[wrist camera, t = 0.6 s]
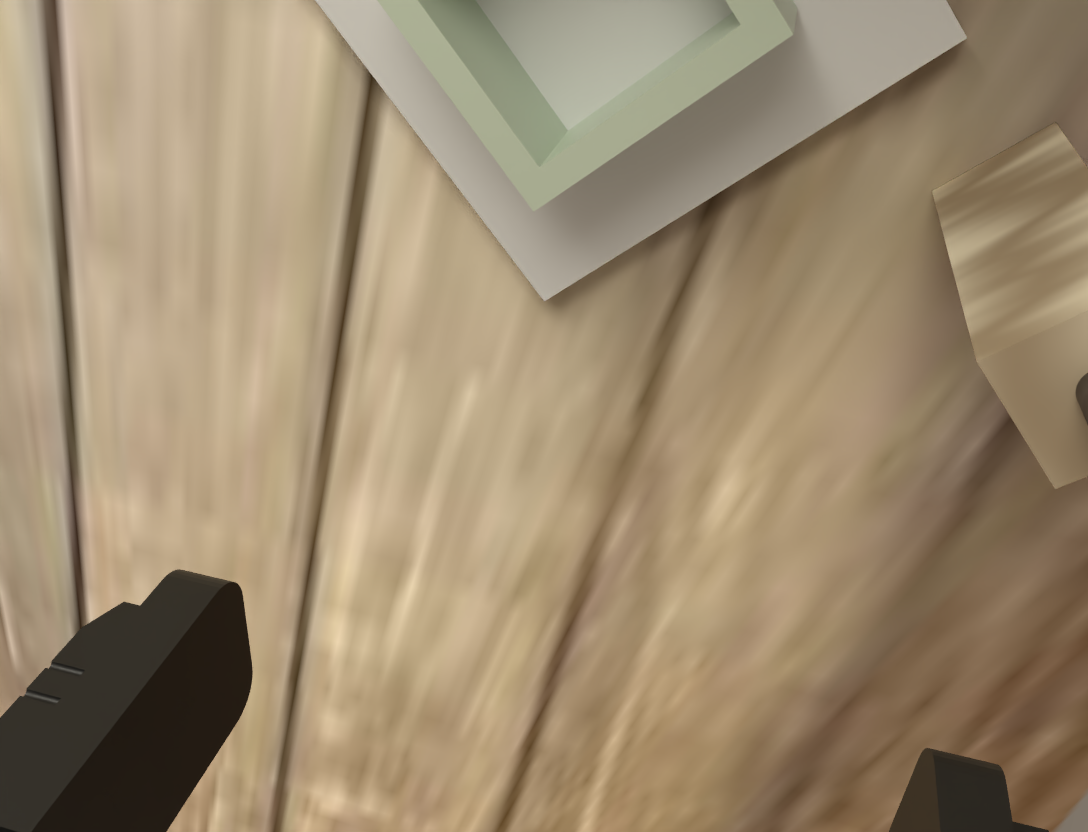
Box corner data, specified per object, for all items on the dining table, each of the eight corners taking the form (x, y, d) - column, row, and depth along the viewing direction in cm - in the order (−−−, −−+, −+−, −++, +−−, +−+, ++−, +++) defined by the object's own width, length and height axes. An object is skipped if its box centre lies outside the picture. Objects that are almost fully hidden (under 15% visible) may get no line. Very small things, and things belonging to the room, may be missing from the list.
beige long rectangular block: (1055, 121, 31) (1183, 305, 20) (1111, 226, 32) (1261, 454, 21) (931, 190, 33) (985, 393, 22) (988, 287, 34) (1067, 526, 23)
